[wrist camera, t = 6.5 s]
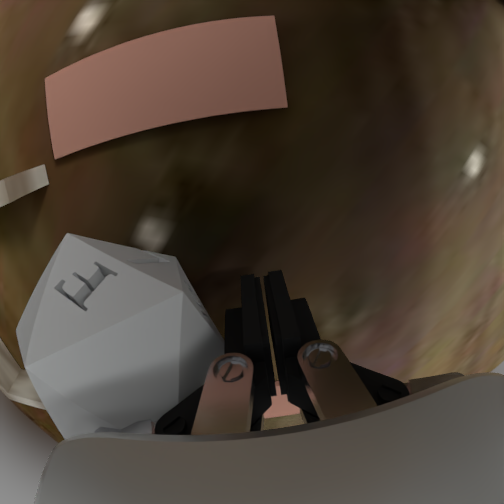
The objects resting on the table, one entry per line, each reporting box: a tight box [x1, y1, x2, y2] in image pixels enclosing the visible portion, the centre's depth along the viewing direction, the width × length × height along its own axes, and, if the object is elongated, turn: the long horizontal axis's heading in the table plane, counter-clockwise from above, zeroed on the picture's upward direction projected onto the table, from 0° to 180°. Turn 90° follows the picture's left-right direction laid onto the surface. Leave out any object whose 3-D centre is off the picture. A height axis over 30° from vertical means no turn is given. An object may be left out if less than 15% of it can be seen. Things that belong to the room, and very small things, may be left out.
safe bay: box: [0, 164, 49, 410], centre depth 12 cm, size 13×15×3 cm
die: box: [16, 233, 225, 439], centre depth 9 cm, size 8×9×10 cm
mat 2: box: [264, 381, 300, 418], centre depth 17 cm, size 10×4×1 cm, turn 97°
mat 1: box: [45, 16, 288, 159], centre depth 9 cm, size 10×4×1 cm, turn 97°
